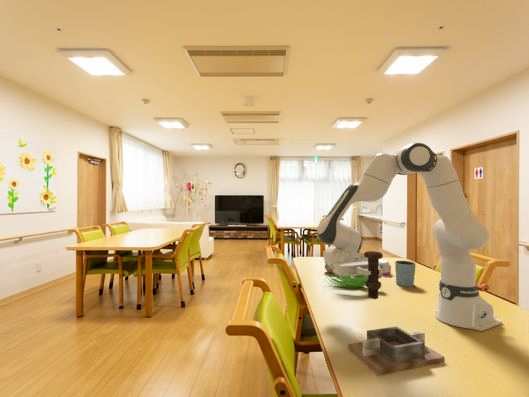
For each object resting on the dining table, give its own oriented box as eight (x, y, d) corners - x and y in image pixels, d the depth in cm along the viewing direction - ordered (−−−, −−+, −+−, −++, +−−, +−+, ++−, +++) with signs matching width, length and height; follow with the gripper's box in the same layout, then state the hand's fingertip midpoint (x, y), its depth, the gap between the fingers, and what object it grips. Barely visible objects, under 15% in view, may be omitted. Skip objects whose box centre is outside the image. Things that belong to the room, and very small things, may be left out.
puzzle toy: (381, 273, 183) (381, 263, 183) (390, 274, 180) (390, 265, 180) (378, 274, 178) (378, 265, 178) (388, 276, 175) (388, 266, 175)
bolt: (368, 294, 100) (369, 250, 100) (383, 297, 97) (384, 252, 97) (362, 298, 96) (362, 252, 96) (377, 302, 93) (378, 254, 93)
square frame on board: (407, 339, 96) (407, 322, 96) (444, 362, 82) (444, 342, 82) (348, 348, 89) (348, 330, 89) (378, 375, 76) (378, 354, 76)
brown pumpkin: (322, 270, 188) (322, 255, 188) (339, 270, 189) (339, 254, 189) (328, 275, 176) (328, 258, 176) (346, 274, 177) (346, 258, 177)
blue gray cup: (405, 281, 164) (405, 260, 164) (420, 286, 154) (420, 263, 155) (390, 282, 161) (390, 261, 161) (404, 288, 151) (405, 265, 151)
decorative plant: (384, 305, 141) (321, 299, 146) (375, 281, 165) (321, 276, 170) (390, 255, 135) (324, 250, 141) (379, 237, 159) (323, 233, 165)
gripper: (326, 256, 106) (347, 265, 93) (374, 253, 112) (400, 261, 99) (326, 274, 106) (347, 284, 93) (374, 270, 112) (400, 280, 99)
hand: (375, 272), depth 96 cm, fingers closed on bolt, 3 cm apart
